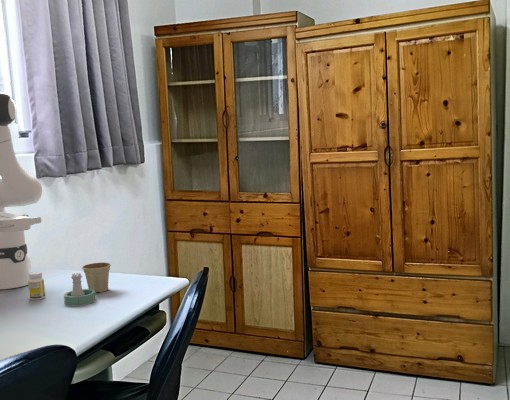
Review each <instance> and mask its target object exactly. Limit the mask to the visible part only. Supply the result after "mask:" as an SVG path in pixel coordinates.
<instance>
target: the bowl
mask: <svg viewBox="0 0 510 400" xmlns="http://www.w3.org/2000/svg"><path fill="white" fill-rule="evenodd" d="M82 290H83V292H84V293H85V295H83V296H71V293H72V291H73V290H70V291H67V292H65V293H64V294H63V300H64V305H65V306H69V307H80V306H87V305H90V304H92V303H94V302H96V301H97V299H96V297H97V296H96V295H97V294H96V293H95V291H94V290H91V289H88V288H82Z"/></svg>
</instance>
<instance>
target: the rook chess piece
mask: <svg viewBox="0 0 510 400" xmlns="http://www.w3.org/2000/svg"><path fill="white" fill-rule="evenodd" d="M82 278H83V276H82V273H80V272H79V273H78V272H76V273H72V275H71V280H72V290H71V291H72V293H71V296H83V295H85V293H84V292H83V290H82V289H83V286H82Z"/></svg>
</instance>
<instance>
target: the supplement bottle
mask: <svg viewBox="0 0 510 400" xmlns="http://www.w3.org/2000/svg"><path fill="white" fill-rule="evenodd" d="M29 278H30V279H29V280H28V285H27V286H28V293H29V299H30V300H32V301H38V300H42V299H45V298H46V290H45V280H44V278H43V272H42V271H32V272H31V273H29Z"/></svg>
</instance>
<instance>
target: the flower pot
mask: <svg viewBox="0 0 510 400" xmlns="http://www.w3.org/2000/svg"><path fill="white" fill-rule="evenodd" d="M111 266H112V263H110V262H102V261H101V262H93V263H92V262H91V263H87V264H84V265H82V266H81V269H82V270H83V272H84V276H85V280H86V283H87V289H91V290H94V291H95V294H96V293H103V292H107V291H108V289H109V277H110V276H109V275H110V270H111Z"/></svg>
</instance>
